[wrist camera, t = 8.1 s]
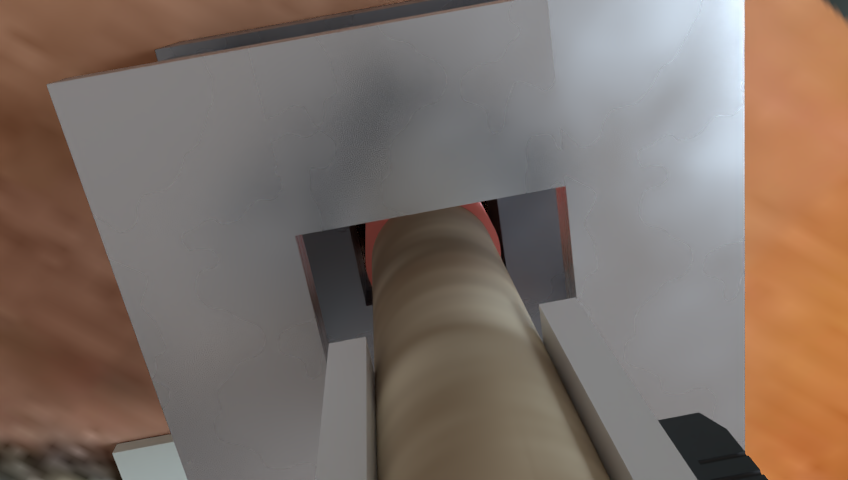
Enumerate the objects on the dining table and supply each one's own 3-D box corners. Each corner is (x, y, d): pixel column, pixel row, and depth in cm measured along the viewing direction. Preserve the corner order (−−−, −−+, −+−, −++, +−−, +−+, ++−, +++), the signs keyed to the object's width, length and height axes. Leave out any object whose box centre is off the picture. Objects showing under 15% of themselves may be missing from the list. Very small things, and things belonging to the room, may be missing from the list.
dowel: (384, 324, 21) (431, 1160, 6) (360, 213, 20) (347, 928, 5) (500, 302, 21) (830, 1079, 6) (484, 190, 20) (853, 826, 5)
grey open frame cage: (278, 392, 28) (233, 608, 19) (180, 41, 23) (46, 84, 14) (614, 329, 29) (745, 510, 19) (587, -32, 24) (744, -41, 14)
